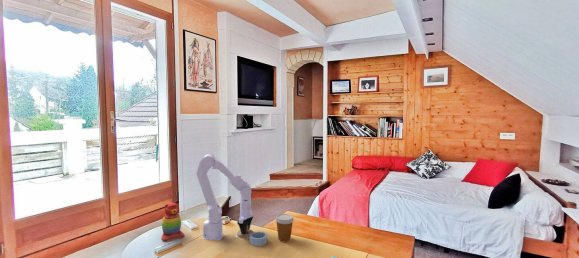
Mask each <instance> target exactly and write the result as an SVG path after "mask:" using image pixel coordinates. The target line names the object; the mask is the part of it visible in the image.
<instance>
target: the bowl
mask: <svg viewBox="0 0 579 258" xmlns="http://www.w3.org/2000/svg"><path fill="white" fill-rule="evenodd" d="M267 243H268V234H267V232H264V231H255V232H253V233H251V234H250V237H249V244H250V245H251V246H254V247H262V246H265V245H266V244H267Z"/></svg>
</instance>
